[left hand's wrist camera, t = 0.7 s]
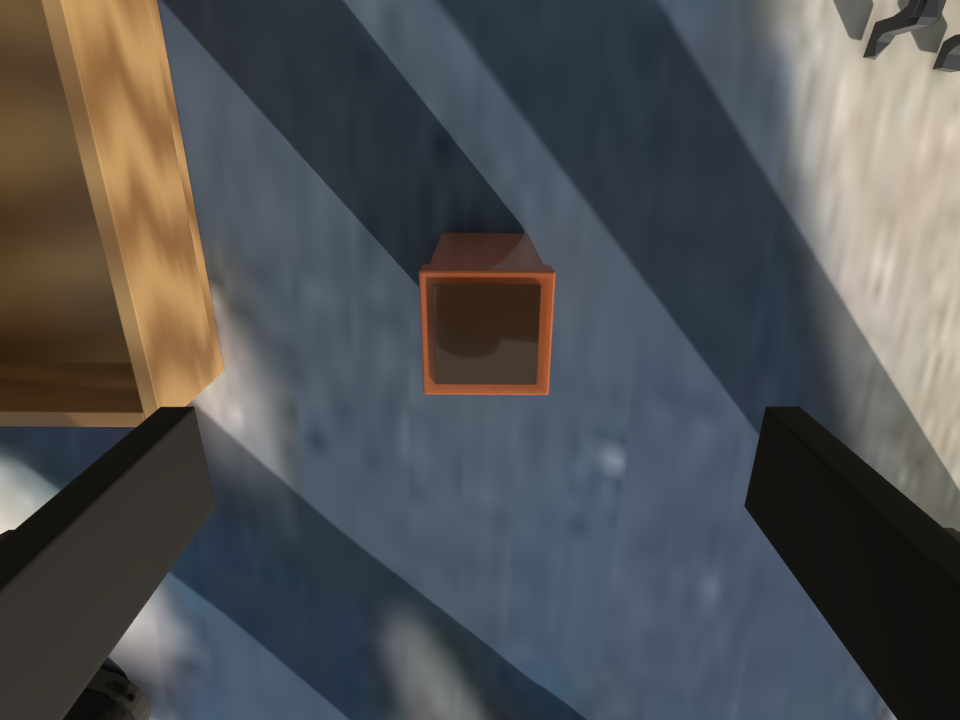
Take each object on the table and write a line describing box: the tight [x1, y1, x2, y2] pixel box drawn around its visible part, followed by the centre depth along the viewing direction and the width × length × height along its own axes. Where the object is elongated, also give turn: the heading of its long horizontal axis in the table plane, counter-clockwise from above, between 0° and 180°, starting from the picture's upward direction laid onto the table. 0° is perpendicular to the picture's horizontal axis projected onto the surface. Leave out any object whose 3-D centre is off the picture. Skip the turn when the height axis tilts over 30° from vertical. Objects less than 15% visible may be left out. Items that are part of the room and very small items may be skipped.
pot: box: [419, 233, 555, 395], centre depth 26 cm, size 5×5×10 cm
